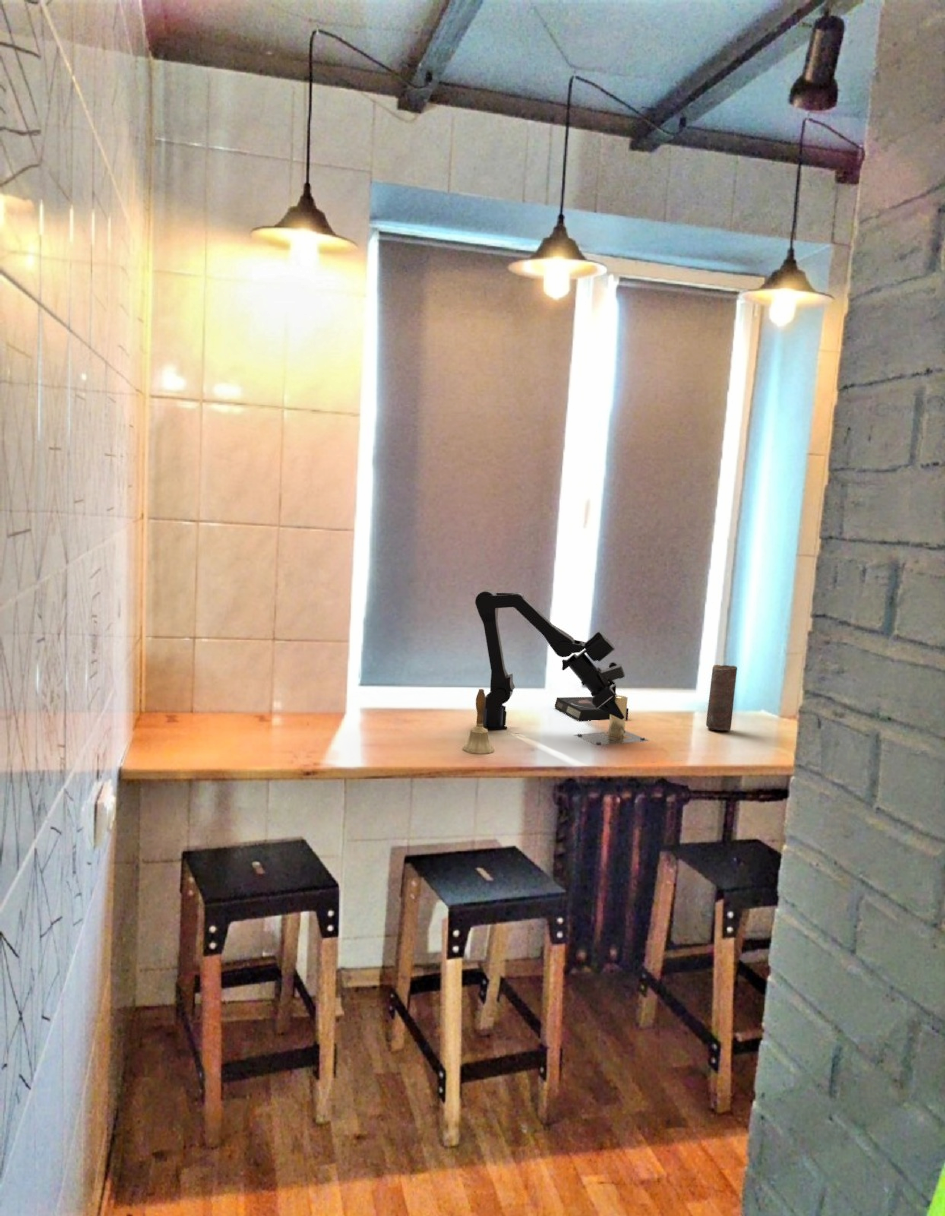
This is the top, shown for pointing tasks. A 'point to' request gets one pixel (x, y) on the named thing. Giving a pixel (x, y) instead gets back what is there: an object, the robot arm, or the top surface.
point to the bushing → (615, 723)
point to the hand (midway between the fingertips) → (623, 714)
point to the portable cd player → (582, 708)
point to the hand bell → (479, 730)
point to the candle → (721, 697)
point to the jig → (605, 740)
